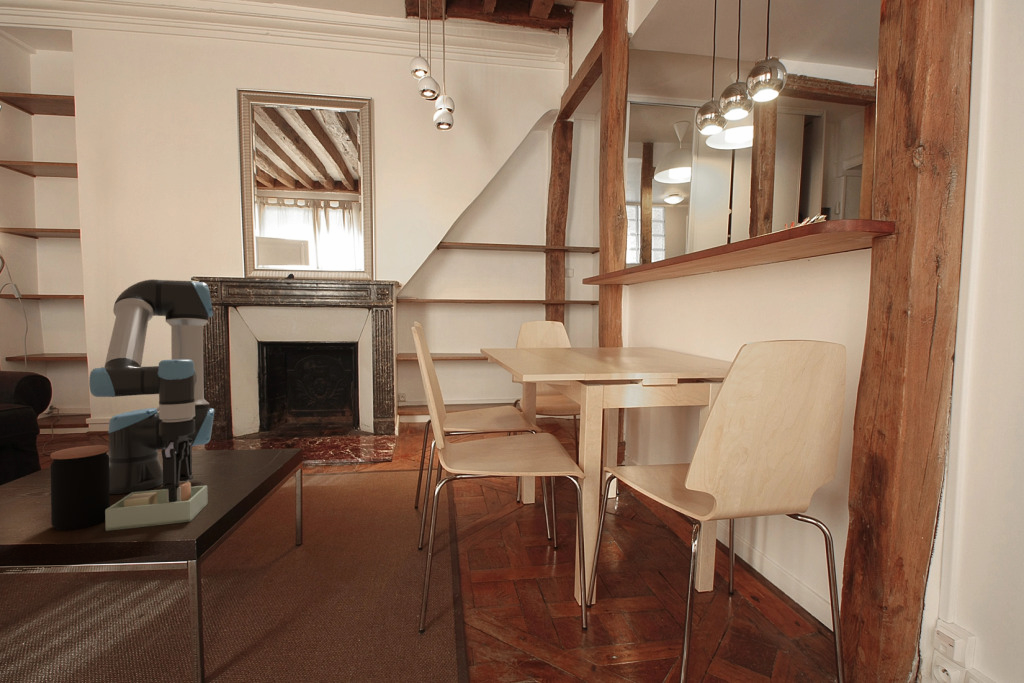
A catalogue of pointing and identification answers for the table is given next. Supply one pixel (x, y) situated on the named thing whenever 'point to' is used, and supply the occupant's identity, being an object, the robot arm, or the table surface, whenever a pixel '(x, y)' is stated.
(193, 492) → the tray
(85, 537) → the table surface
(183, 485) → the peach block
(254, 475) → the table surface
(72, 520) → the coffee jar
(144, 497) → the beech cube
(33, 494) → the table surface
